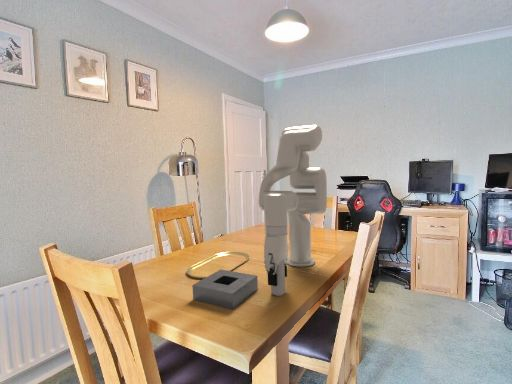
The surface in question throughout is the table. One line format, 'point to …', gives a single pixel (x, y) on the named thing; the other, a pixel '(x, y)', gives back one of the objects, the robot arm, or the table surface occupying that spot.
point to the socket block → (225, 288)
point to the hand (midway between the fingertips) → (277, 280)
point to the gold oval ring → (214, 258)
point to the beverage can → (279, 280)
